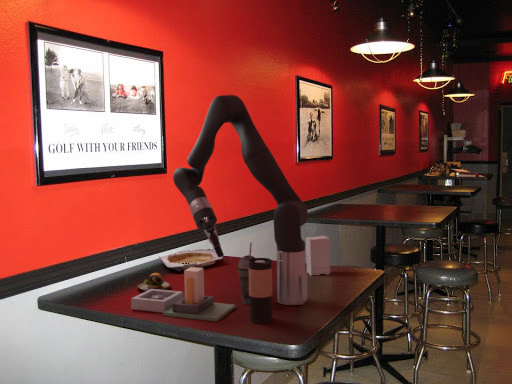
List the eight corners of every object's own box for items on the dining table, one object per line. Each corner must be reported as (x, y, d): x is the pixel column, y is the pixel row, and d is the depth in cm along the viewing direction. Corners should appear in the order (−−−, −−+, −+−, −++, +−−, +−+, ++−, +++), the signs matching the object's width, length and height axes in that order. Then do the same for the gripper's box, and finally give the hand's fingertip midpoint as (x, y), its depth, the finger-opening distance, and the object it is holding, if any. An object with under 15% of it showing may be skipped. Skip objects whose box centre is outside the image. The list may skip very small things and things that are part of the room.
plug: (204, 305, 170) (203, 267, 169) (196, 311, 164) (195, 272, 163) (191, 304, 172) (190, 267, 171) (183, 310, 165) (182, 271, 164)
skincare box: (325, 271, 218) (325, 235, 216) (330, 274, 212) (330, 237, 211) (305, 272, 216) (305, 236, 215) (310, 276, 210) (310, 238, 209)
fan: (201, 298, 182) (201, 288, 182) (175, 314, 165) (175, 302, 165) (160, 294, 187) (160, 284, 187) (131, 309, 171) (131, 298, 170)
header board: (235, 307, 170) (235, 297, 170) (216, 321, 157) (216, 309, 157) (185, 302, 177) (184, 292, 176) (163, 315, 164) (162, 304, 163)
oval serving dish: (235, 262, 238) (200, 254, 253) (234, 253, 238) (200, 246, 253) (178, 277, 215) (144, 268, 230) (178, 267, 214) (144, 258, 230)
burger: (130, 290, 194) (130, 270, 194) (157, 283, 203) (156, 264, 202) (150, 296, 186) (150, 275, 186) (177, 289, 195) (176, 269, 194)
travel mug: (253, 315, 162) (252, 257, 160) (275, 317, 160) (274, 258, 158) (246, 323, 155) (245, 262, 154) (269, 325, 153) (268, 263, 152)
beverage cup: (247, 297, 181) (246, 239, 180) (264, 301, 177) (263, 241, 175) (233, 302, 176) (232, 242, 174) (250, 306, 171) (249, 245, 169)
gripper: (209, 198, 183) (226, 237, 174) (215, 218, 195) (232, 255, 187) (188, 207, 182) (205, 246, 173) (196, 226, 194) (212, 264, 186)
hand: (219, 251), depth 180 cm, fingers open, 8 cm apart
